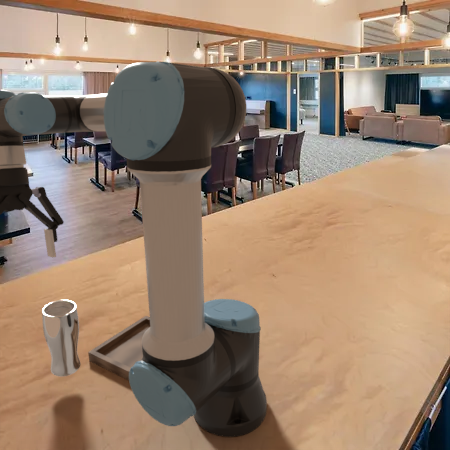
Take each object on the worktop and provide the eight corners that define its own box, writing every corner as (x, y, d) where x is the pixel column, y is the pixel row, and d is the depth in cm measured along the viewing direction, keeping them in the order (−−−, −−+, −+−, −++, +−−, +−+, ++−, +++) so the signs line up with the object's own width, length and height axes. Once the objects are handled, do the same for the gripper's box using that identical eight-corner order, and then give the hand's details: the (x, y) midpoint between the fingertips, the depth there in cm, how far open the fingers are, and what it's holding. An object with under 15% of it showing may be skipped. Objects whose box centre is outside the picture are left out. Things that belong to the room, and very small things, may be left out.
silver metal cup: (71, 352, 91) (65, 295, 86) (89, 366, 87) (84, 307, 82) (42, 367, 86) (34, 308, 81) (59, 383, 82) (52, 321, 77)
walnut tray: (203, 345, 102) (203, 336, 101) (150, 391, 85) (150, 381, 85) (146, 323, 112) (145, 315, 111) (89, 361, 96) (88, 352, 95)
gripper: (55, 164, 95) (67, 249, 99) (-69, 171, 77) (-49, 275, 81) (71, 163, 90) (82, 253, 94) (-58, 171, 72) (-38, 282, 76)
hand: (22, 263), depth 87 cm, fingers open, 13 cm apart
